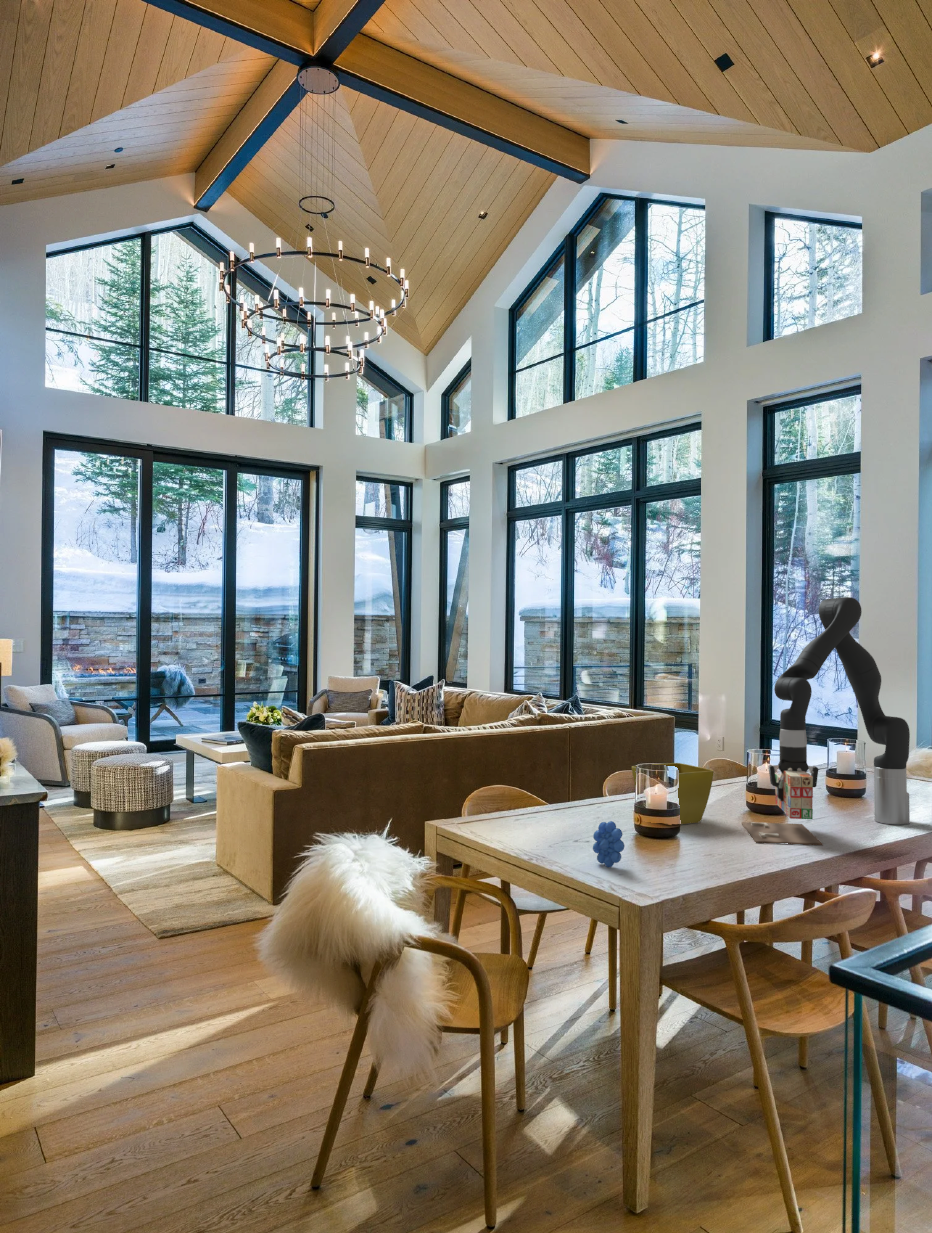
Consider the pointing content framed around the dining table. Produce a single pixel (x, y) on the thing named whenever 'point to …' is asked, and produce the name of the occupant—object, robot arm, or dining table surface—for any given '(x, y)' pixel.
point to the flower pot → (691, 790)
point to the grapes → (608, 843)
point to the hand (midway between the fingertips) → (793, 800)
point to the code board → (780, 833)
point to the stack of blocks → (796, 794)
